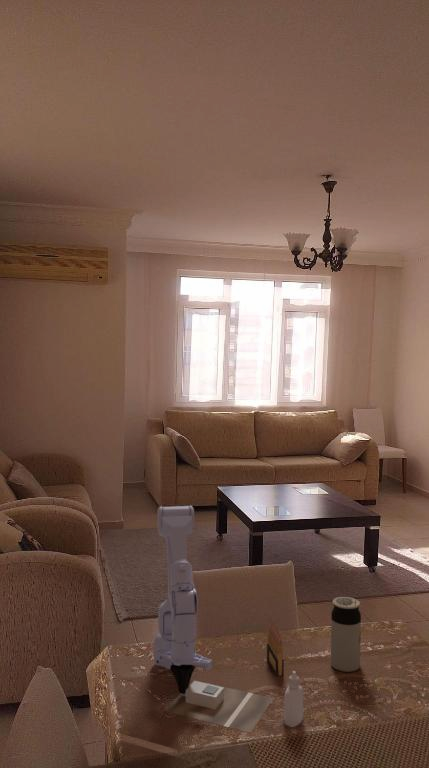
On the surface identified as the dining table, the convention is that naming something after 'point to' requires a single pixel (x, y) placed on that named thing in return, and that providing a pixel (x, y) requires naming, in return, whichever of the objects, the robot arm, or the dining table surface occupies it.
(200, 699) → the block
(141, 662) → the dining table surface
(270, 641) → the ammunition clip
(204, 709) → the subfloor panel
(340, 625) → the travel mug
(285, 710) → the eye dropper bottle
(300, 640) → the dining table surface
